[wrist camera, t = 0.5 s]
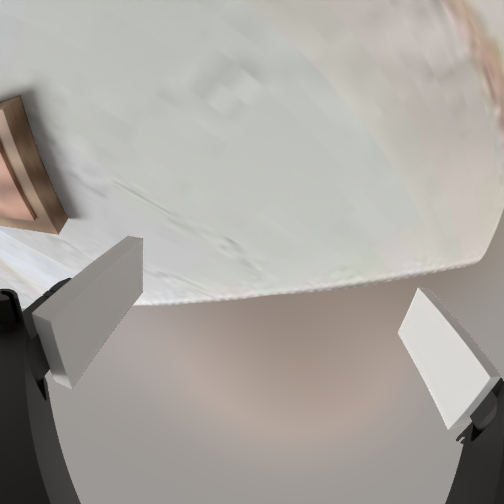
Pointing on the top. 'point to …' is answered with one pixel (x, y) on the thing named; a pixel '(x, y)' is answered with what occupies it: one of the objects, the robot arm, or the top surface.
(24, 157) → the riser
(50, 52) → the top surface
